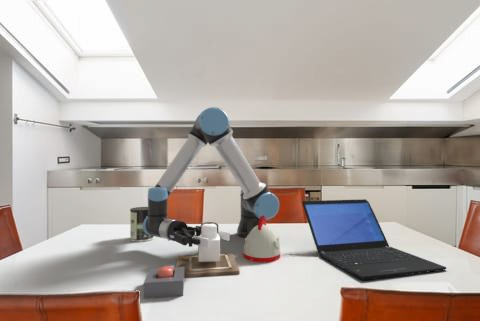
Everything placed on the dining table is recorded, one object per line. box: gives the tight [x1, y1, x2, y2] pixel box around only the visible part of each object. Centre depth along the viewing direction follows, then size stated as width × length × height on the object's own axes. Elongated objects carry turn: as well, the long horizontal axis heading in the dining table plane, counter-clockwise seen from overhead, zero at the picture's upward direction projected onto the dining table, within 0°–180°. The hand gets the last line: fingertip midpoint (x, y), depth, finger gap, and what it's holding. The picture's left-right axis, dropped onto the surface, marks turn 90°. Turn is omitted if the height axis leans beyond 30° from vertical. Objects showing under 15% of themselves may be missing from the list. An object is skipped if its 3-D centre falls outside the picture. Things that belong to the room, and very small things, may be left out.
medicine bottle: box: [197, 221, 221, 262], centre depth 97 cm, size 7×7×12 cm
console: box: [143, 266, 185, 299], centre depth 79 cm, size 10×10×4 cm
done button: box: [158, 265, 173, 278], centre depth 79 cm, size 4×4×3 cm
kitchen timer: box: [242, 216, 281, 263], centre depth 107 cm, size 14×14×15 cm
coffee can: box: [129, 206, 155, 243], centre depth 131 cm, size 10×10×14 cm
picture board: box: [175, 252, 240, 278], centre depth 97 cm, size 20×18×1 cm
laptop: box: [301, 198, 447, 281], centre depth 106 cm, size 33×38×19 cm
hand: (219, 239), depth 94 cm, fingers closed on medicine bottle, 10 cm apart
